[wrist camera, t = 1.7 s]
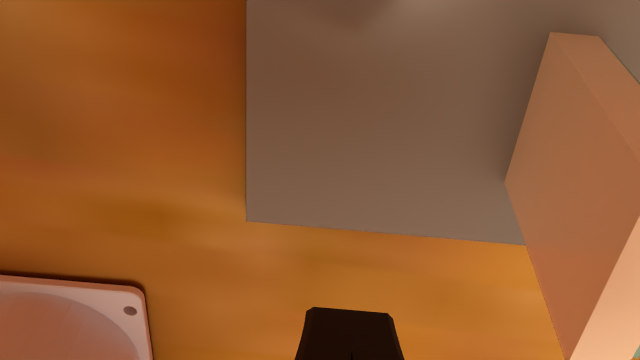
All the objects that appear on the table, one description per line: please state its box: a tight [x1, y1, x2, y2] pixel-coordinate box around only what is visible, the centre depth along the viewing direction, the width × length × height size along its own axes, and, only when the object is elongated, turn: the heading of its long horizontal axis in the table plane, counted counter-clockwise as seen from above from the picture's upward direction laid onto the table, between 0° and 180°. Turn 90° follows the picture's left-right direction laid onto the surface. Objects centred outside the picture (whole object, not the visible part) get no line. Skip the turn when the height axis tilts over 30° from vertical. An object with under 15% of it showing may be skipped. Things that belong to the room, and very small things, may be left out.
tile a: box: [504, 32, 640, 360], centre depth 15 cm, size 5×2×7 cm, turn 176°
